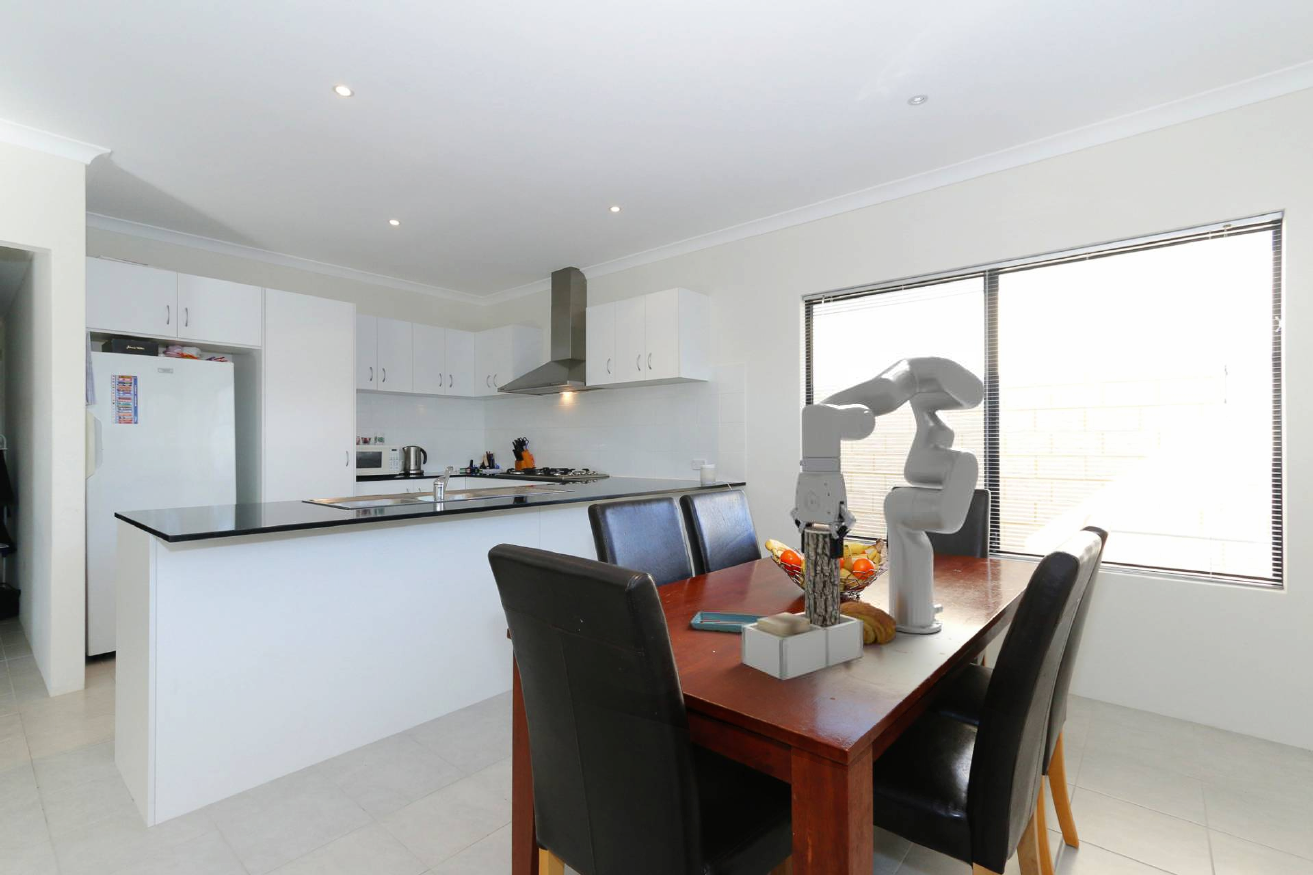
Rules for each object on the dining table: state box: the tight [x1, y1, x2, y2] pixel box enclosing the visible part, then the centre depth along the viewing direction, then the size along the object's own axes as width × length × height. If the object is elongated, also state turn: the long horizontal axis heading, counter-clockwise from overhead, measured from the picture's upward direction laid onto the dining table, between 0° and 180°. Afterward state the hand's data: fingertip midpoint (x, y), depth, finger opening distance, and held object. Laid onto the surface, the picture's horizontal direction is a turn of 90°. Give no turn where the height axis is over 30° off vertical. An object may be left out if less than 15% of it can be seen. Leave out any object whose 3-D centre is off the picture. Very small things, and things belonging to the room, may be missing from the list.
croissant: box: [840, 601, 897, 645], centre depth 137 cm, size 14×16×8 cm
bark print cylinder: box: [804, 525, 841, 628], centre depth 125 cm, size 7×7×25 cm
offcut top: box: [757, 611, 810, 638], centre depth 119 cm, size 8×6×3 cm
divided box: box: [741, 611, 864, 681], centre depth 122 cm, size 22×11×7 cm, turn 124°
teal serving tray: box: [690, 611, 769, 633], centre depth 143 cm, size 26×9×2 cm, turn 74°
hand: (822, 554), depth 125 cm, fingers closed on bark print cylinder, 6 cm apart
